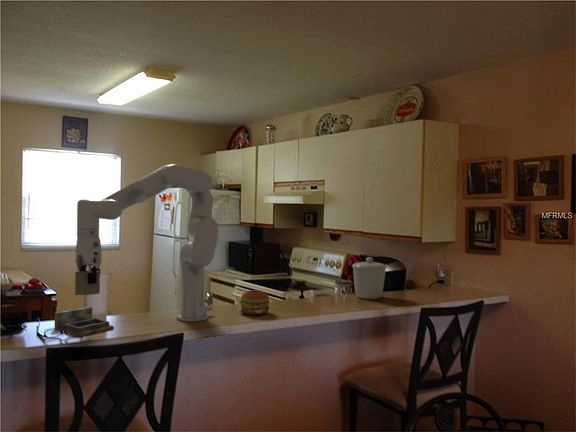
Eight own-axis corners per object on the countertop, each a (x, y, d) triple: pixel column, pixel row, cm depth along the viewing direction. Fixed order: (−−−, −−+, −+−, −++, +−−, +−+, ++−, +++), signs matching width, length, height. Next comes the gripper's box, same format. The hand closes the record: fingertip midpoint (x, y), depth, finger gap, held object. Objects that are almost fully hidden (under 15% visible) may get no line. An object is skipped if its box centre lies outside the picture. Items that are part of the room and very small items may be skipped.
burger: (274, 315, 212) (274, 292, 212) (244, 318, 207) (244, 294, 207) (263, 309, 225) (264, 287, 224) (234, 311, 219) (235, 288, 219)
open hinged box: (89, 322, 194) (89, 306, 194) (113, 329, 185) (113, 312, 185) (54, 329, 183) (54, 312, 183) (78, 337, 173) (78, 319, 173)
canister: (347, 294, 265) (348, 255, 264) (380, 294, 267) (381, 255, 266) (355, 301, 247) (356, 259, 246) (390, 301, 249) (392, 259, 248)
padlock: (74, 293, 182) (75, 253, 182) (98, 292, 186) (98, 252, 185) (75, 295, 178) (76, 254, 178) (99, 294, 182) (100, 253, 182)
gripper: (110, 234, 180) (110, 284, 180) (84, 231, 190) (84, 278, 190) (92, 235, 174) (91, 286, 174) (65, 232, 184) (65, 281, 184)
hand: (87, 282), depth 182 cm, fingers closed on padlock, 5 cm apart
